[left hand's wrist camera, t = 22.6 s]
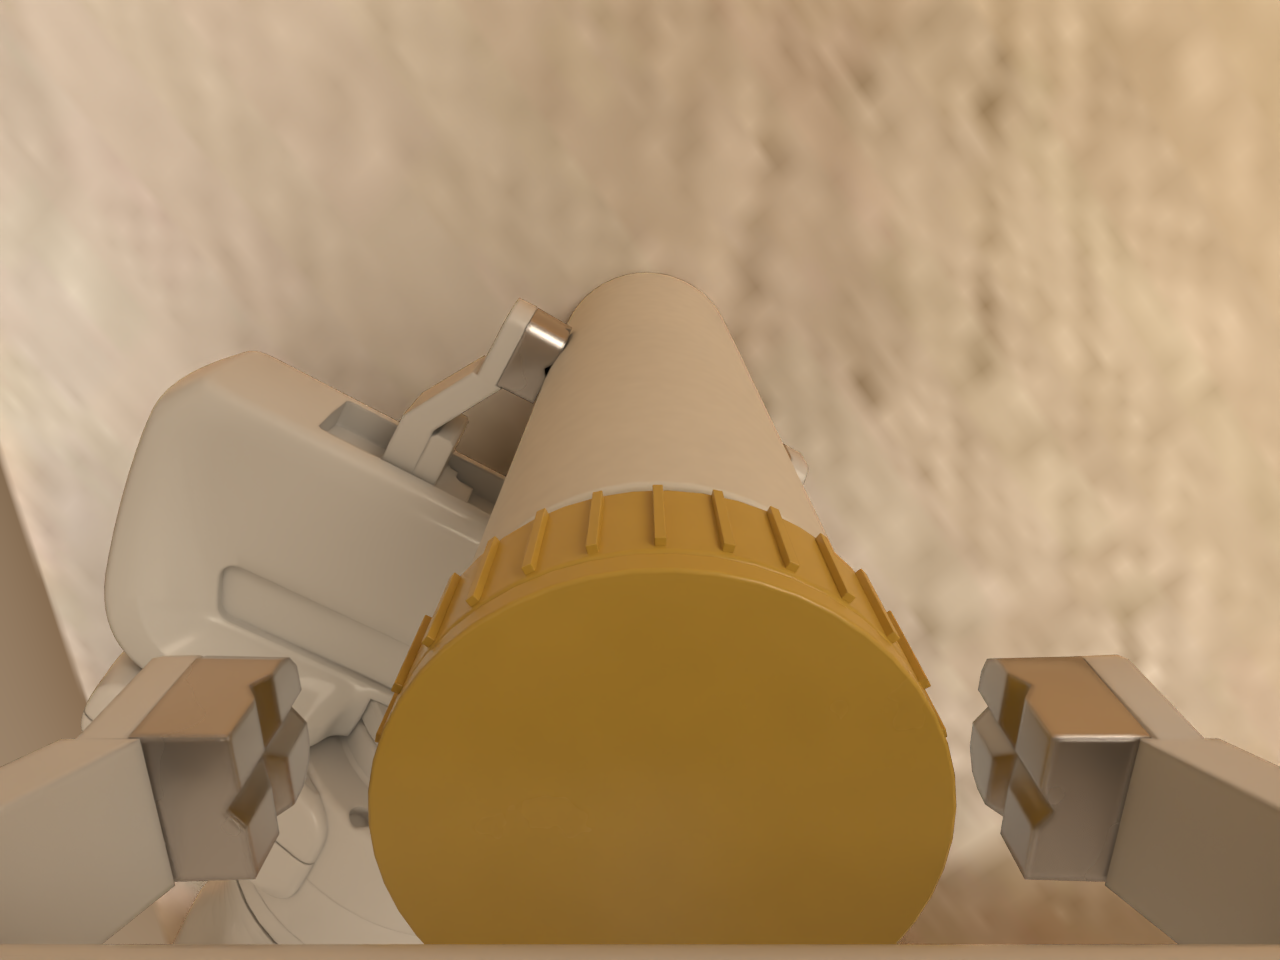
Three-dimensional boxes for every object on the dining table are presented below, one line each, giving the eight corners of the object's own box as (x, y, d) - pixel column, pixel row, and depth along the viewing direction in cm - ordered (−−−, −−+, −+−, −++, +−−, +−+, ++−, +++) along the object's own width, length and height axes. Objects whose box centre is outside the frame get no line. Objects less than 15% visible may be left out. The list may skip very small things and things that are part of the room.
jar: (725, 443, 28) (876, 960, 10) (560, 438, 28) (424, 951, 10) (737, 274, 26) (945, 552, 8) (559, 269, 26) (392, 536, 8)
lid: (516, 392, 9) (486, 455, 7) (1006, 602, 10) (1089, 704, 8) (342, 813, 11) (283, 945, 9) (766, 958, 12) (789, 1104, 10)
